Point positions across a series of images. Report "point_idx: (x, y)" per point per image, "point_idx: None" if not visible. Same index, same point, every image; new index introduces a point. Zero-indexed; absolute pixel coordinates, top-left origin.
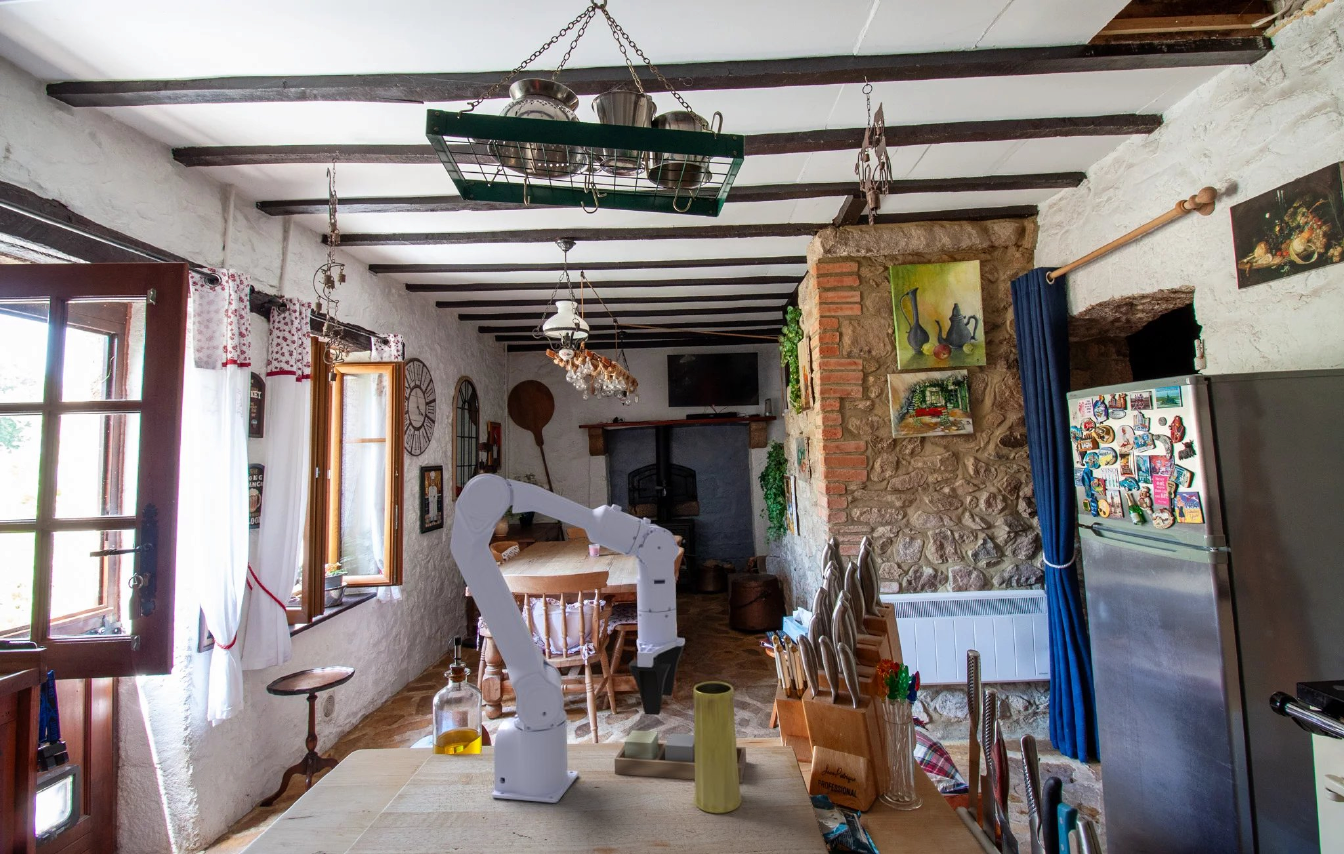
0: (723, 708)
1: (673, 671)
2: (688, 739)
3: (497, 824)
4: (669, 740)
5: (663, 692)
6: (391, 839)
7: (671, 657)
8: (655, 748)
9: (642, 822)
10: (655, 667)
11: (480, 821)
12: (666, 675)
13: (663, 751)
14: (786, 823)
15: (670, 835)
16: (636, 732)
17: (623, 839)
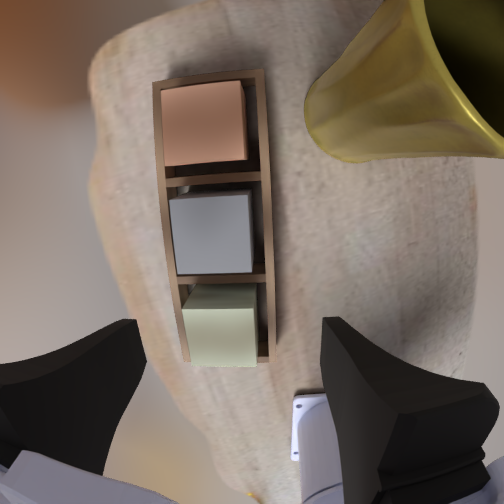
0: (502, 32)
1: (86, 359)
2: (203, 217)
3: None
4: (221, 267)
5: (138, 349)
6: None
7: (55, 408)
8: (216, 296)
9: (434, 242)
10: (468, 450)
11: None
12: (105, 376)
13: (214, 275)
14: None
15: (460, 187)
16: (200, 355)
17: (470, 257)
